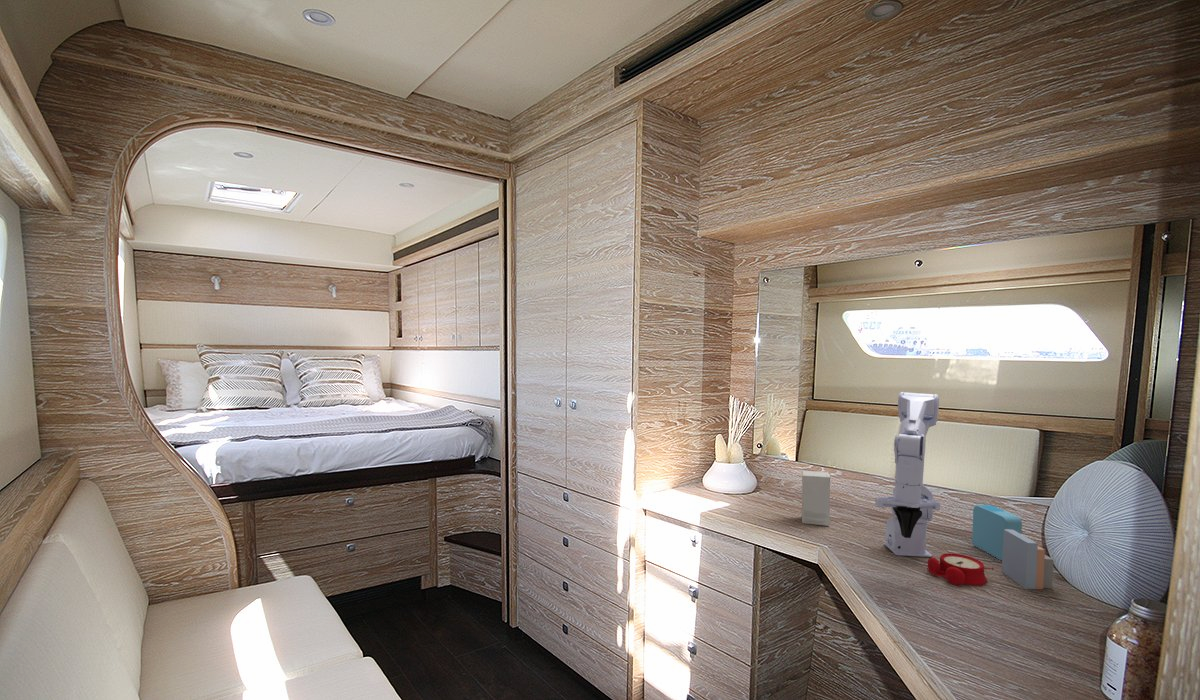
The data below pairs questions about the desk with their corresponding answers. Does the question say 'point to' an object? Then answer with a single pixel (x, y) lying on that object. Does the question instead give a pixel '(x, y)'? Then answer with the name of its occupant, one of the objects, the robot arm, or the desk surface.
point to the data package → (992, 528)
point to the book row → (1026, 561)
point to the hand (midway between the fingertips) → (905, 536)
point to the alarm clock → (958, 569)
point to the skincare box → (816, 498)
